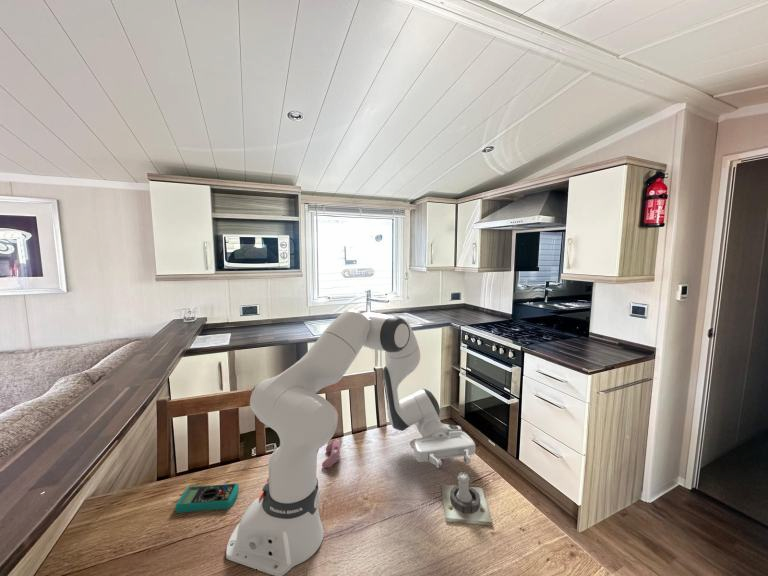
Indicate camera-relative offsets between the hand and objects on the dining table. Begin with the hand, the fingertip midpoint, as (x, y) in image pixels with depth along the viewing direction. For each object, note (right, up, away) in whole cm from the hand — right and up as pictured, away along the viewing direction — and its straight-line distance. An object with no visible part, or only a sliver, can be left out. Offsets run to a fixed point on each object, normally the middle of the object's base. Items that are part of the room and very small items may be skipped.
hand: (454, 463), depth 95 cm
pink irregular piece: (-39, -5, +12) cm, 41 cm away
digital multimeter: (-71, -7, -7) cm, 72 cm away
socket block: (+1, -8, -7) cm, 11 cm away
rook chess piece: (+1, -7, -7) cm, 10 cm away
